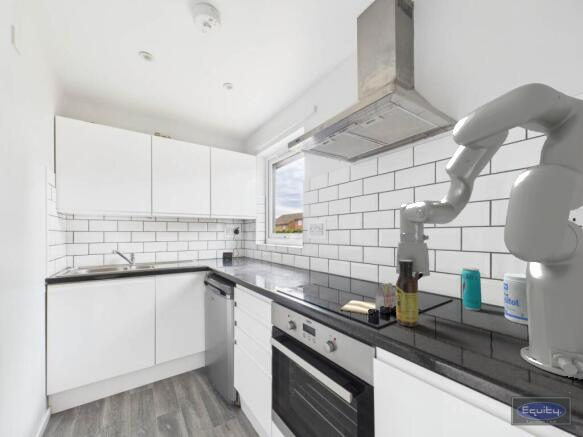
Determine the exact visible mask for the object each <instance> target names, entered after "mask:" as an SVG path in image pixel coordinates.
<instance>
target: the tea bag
mask: <svg viewBox="0 0 583 437" xmlns="http://www.w3.org/2000/svg"><path fill="white" fill-rule="evenodd" d="M374 298H375V299H374V300H375V301H374V303H375V307H376V309H377V310H380V307H381V306H384V307H390V308H393V307H394V306H396V291H395V290H394V287H393V284H392V282H387V283H382V284H379V285H378V288H377V291H376V293H375V296H374Z"/></svg>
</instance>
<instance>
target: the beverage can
mask: <svg viewBox="0 0 583 437" xmlns="http://www.w3.org/2000/svg"><path fill="white" fill-rule="evenodd" d="M481 283H482V280H481V272H480V268H475V267H462V270H461V289H462V305H463V307H464V309H466V310H469V311H472V312H473V311H475V312H477V311H481V308H482V306H483V304H482V301H483V300H482V288H481V287H482V284H481Z"/></svg>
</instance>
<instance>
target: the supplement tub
mask: <svg viewBox="0 0 583 437" xmlns="http://www.w3.org/2000/svg"><path fill="white" fill-rule="evenodd" d="M503 302H504V303H503V304H504V317H505V318H506V319H507V320H508V321H510V322H513V323H516V324H520V325H525V326H528V313H527V296H526V273H517V272H516V273H515V272H514V273H513V272H510V273H509V272H508V273H507V272H505V273H504V275H503Z"/></svg>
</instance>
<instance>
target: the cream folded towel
mask: <svg viewBox="0 0 583 437" xmlns="http://www.w3.org/2000/svg"><path fill="white" fill-rule="evenodd" d="M369 309H376V307H375V302H369V301H367V302H366V301H363V300H362V301H360V300H354V299H352V300H350V301H349V302H348V303H346V304H345V305H343V306H342V307H340V309H339V310H340V311H341V310H343V311H342V312H347V311H350V312H349V313H354V312H355V313H356V314H360V313H361V314H360V315H366V314H368V310H369Z"/></svg>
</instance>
